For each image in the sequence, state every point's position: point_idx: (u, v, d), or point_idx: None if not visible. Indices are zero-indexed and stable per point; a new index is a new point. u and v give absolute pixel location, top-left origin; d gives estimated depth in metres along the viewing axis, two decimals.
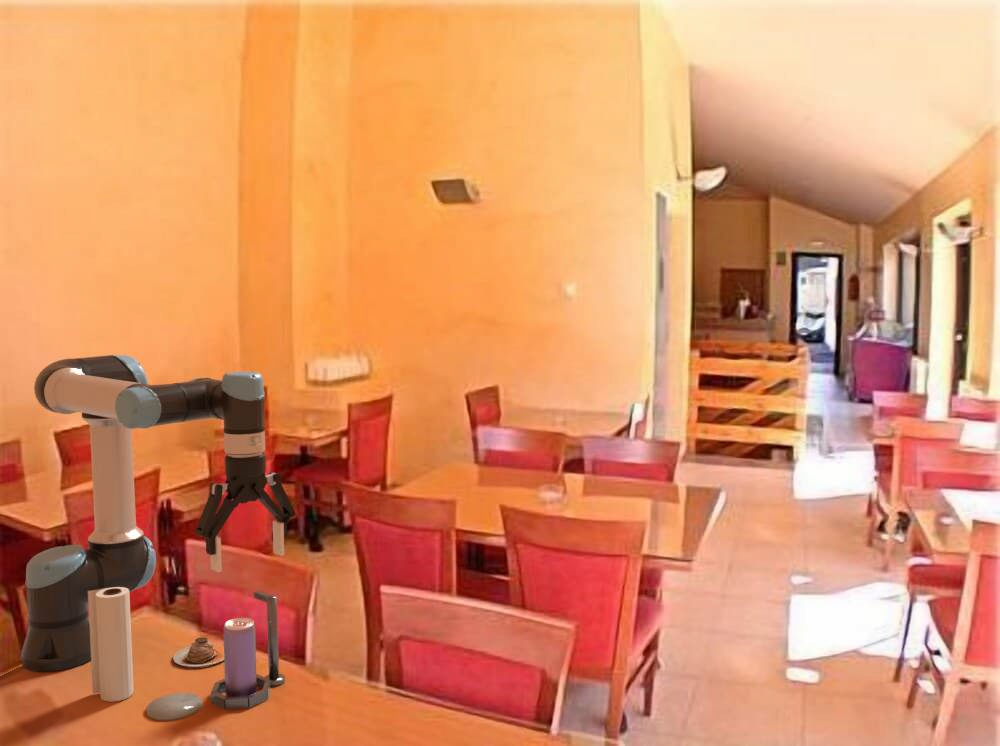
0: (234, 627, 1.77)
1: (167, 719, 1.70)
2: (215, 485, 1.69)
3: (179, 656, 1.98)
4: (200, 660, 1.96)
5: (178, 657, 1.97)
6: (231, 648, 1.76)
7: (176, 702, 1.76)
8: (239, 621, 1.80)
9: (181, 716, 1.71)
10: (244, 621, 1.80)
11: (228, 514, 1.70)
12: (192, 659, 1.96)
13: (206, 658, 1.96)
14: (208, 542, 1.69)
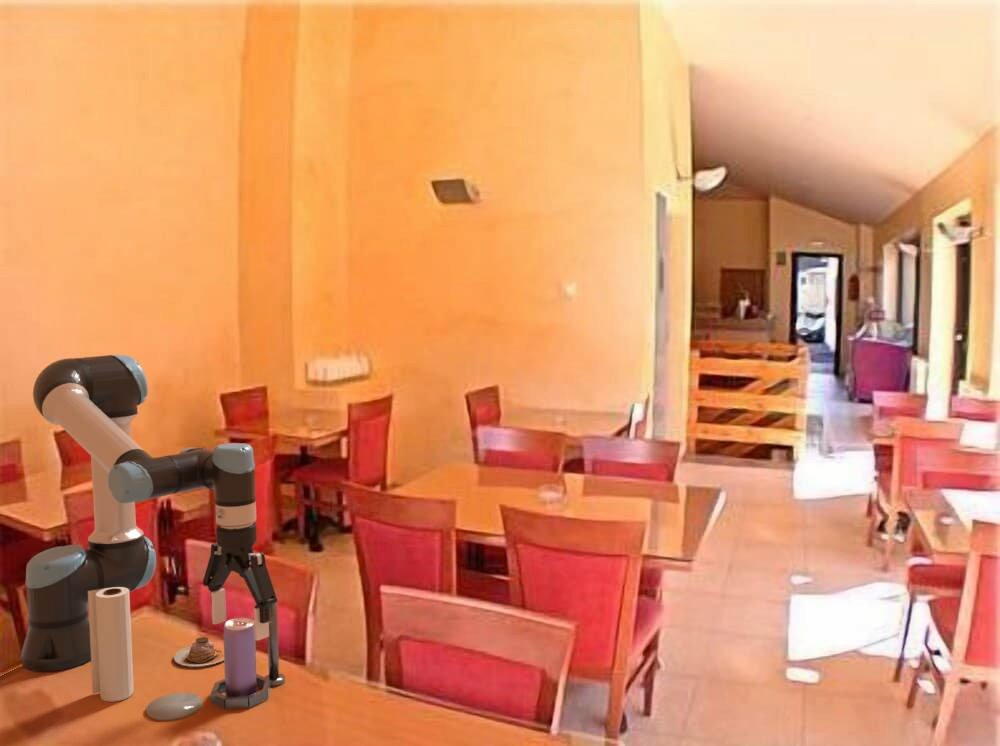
0: (234, 627, 1.77)
1: (167, 719, 1.70)
2: None
3: (180, 656, 1.98)
4: (201, 660, 1.96)
5: (179, 657, 1.97)
6: (231, 648, 1.76)
7: (176, 702, 1.76)
8: (239, 621, 1.80)
9: (181, 716, 1.71)
10: (244, 621, 1.80)
11: (218, 574, 1.79)
12: (193, 659, 1.96)
13: (207, 658, 1.96)
14: None
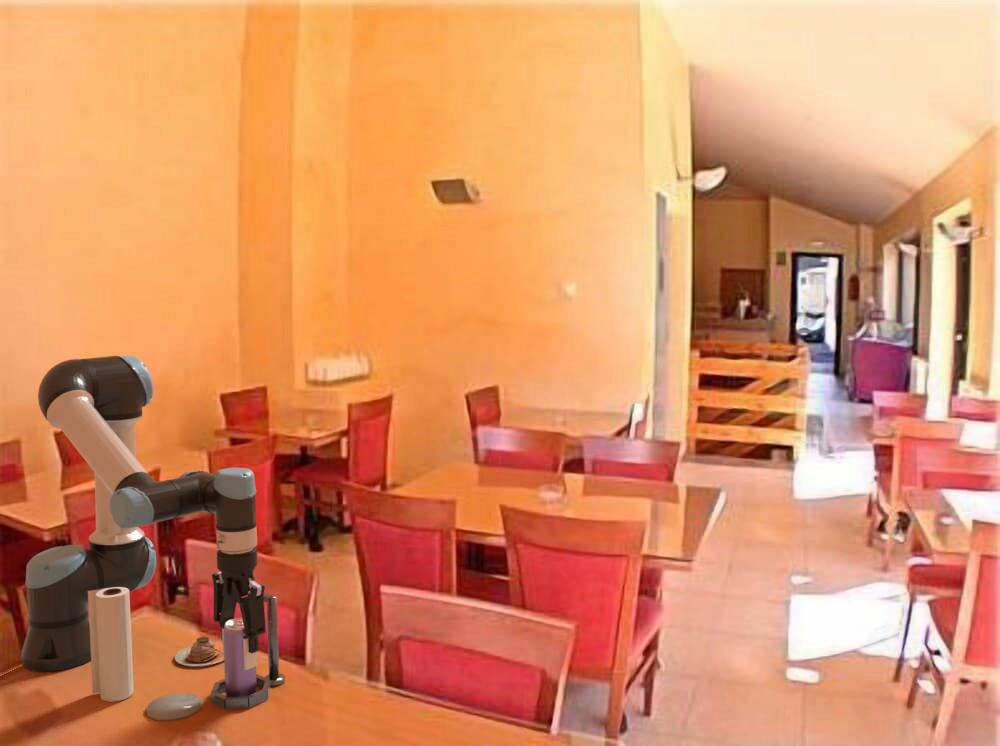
0: (234, 627, 1.77)
1: (167, 719, 1.70)
2: None
3: (181, 656, 1.98)
4: (202, 660, 1.96)
5: (180, 657, 1.97)
6: (231, 648, 1.76)
7: (176, 702, 1.76)
8: (239, 621, 1.80)
9: (181, 716, 1.71)
10: None
11: (225, 605, 1.79)
12: (194, 659, 1.96)
13: (208, 658, 1.96)
14: None
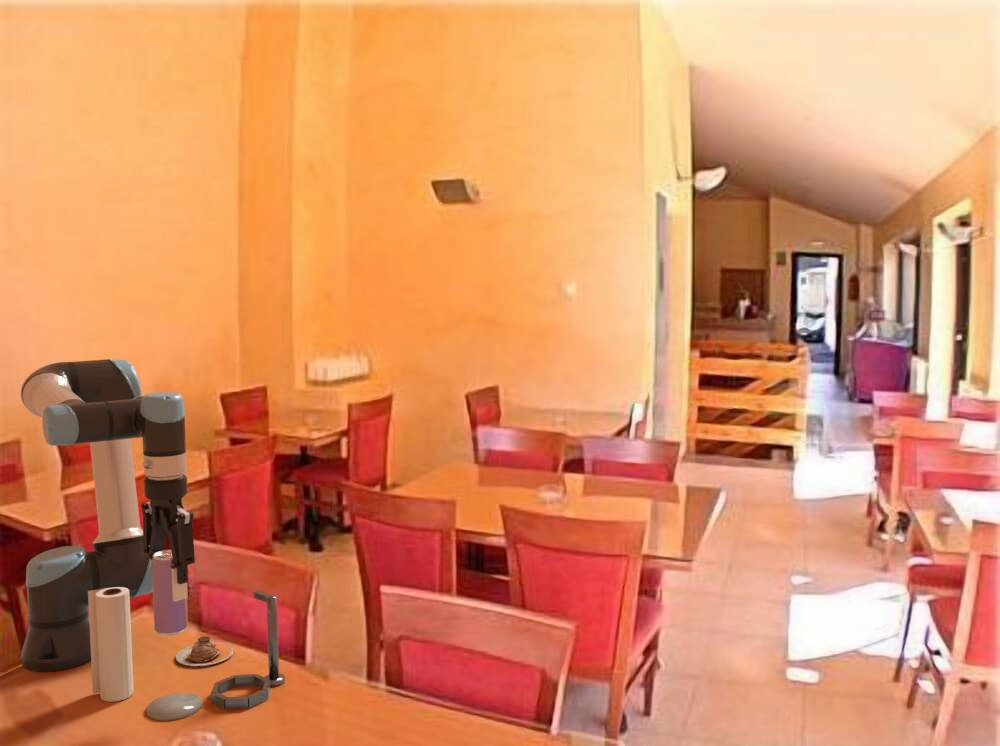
0: (162, 557, 1.70)
1: (167, 719, 1.70)
2: None
3: (182, 655, 1.98)
4: (203, 659, 1.96)
5: (181, 656, 1.98)
6: (159, 579, 1.69)
7: (176, 702, 1.76)
8: (169, 552, 1.73)
9: (181, 716, 1.71)
10: None
11: (154, 535, 1.72)
12: (195, 658, 1.96)
13: (209, 657, 1.96)
14: None
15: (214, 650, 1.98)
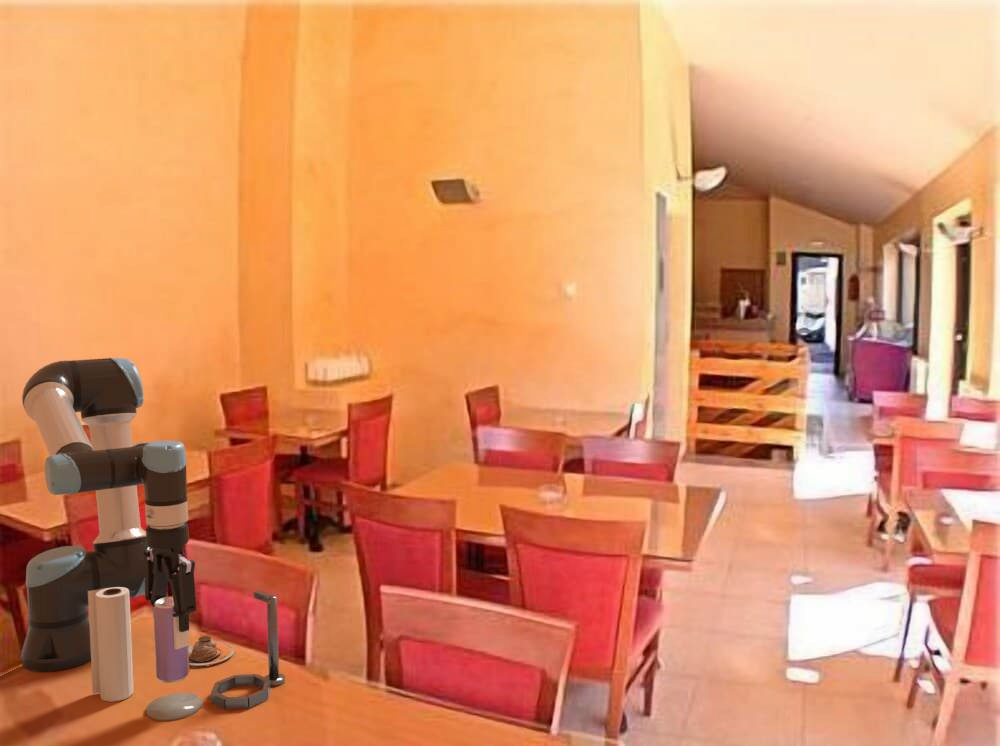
0: (164, 605, 1.71)
1: (167, 719, 1.70)
2: None
3: None
4: (204, 659, 1.96)
5: None
6: (161, 627, 1.70)
7: (176, 702, 1.76)
8: (170, 599, 1.74)
9: (181, 716, 1.71)
10: None
11: (155, 583, 1.73)
12: (196, 658, 1.96)
13: (210, 657, 1.97)
14: None
15: (215, 650, 1.98)
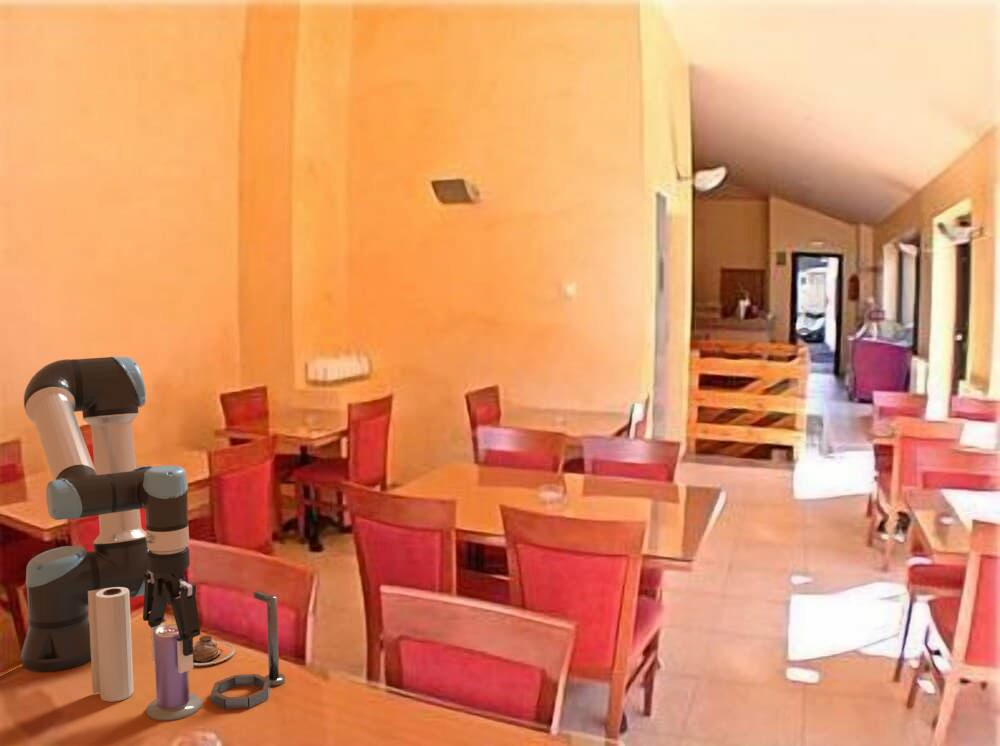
0: (164, 634, 1.72)
1: (167, 719, 1.70)
2: None
3: None
4: (204, 659, 1.96)
5: None
6: (161, 655, 1.71)
7: None
8: (171, 627, 1.75)
9: (181, 716, 1.71)
10: (176, 627, 1.75)
11: (155, 605, 1.74)
12: (196, 658, 1.96)
13: (210, 656, 1.97)
14: None
15: (216, 649, 1.98)
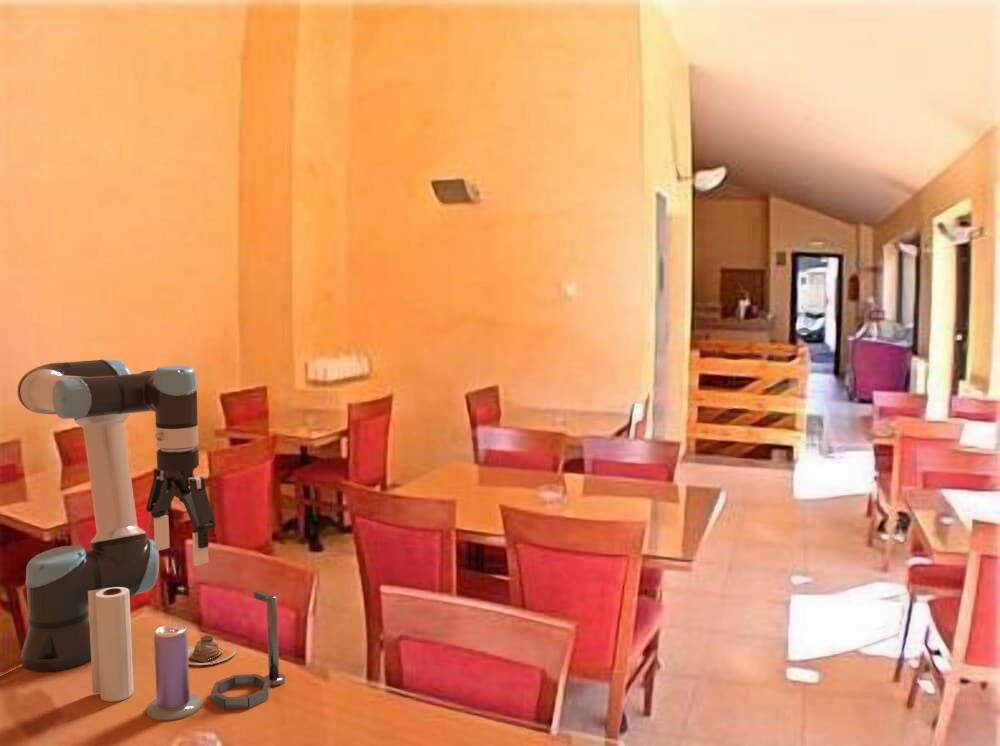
0: (164, 634, 1.72)
1: (167, 719, 1.70)
2: None
3: None
4: (206, 658, 1.96)
5: None
6: (161, 655, 1.71)
7: None
8: (171, 627, 1.75)
9: (181, 716, 1.71)
10: (176, 627, 1.75)
11: (160, 500, 1.76)
12: (198, 657, 1.97)
13: (211, 656, 1.97)
14: None
15: (217, 649, 1.99)
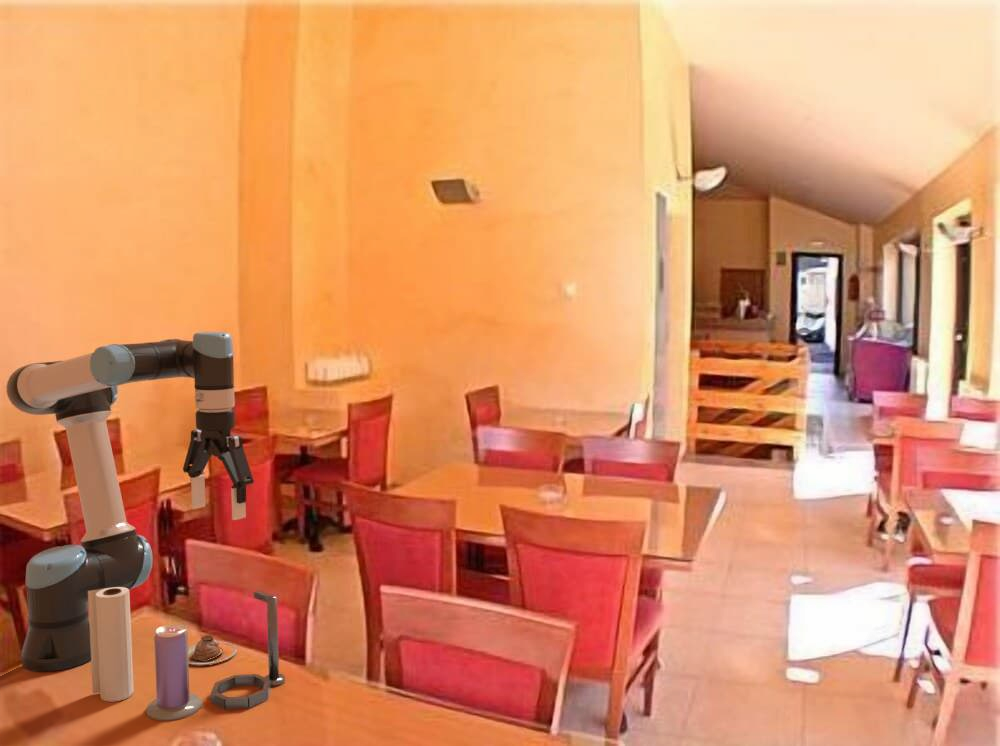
0: (165, 634, 1.72)
1: (167, 719, 1.70)
2: None
3: None
4: (206, 658, 1.96)
5: None
6: (161, 655, 1.71)
7: None
8: (171, 627, 1.75)
9: (181, 716, 1.71)
10: (176, 627, 1.75)
11: (198, 460, 1.86)
12: (198, 657, 1.97)
13: (212, 656, 1.97)
14: None
15: (217, 649, 1.99)
